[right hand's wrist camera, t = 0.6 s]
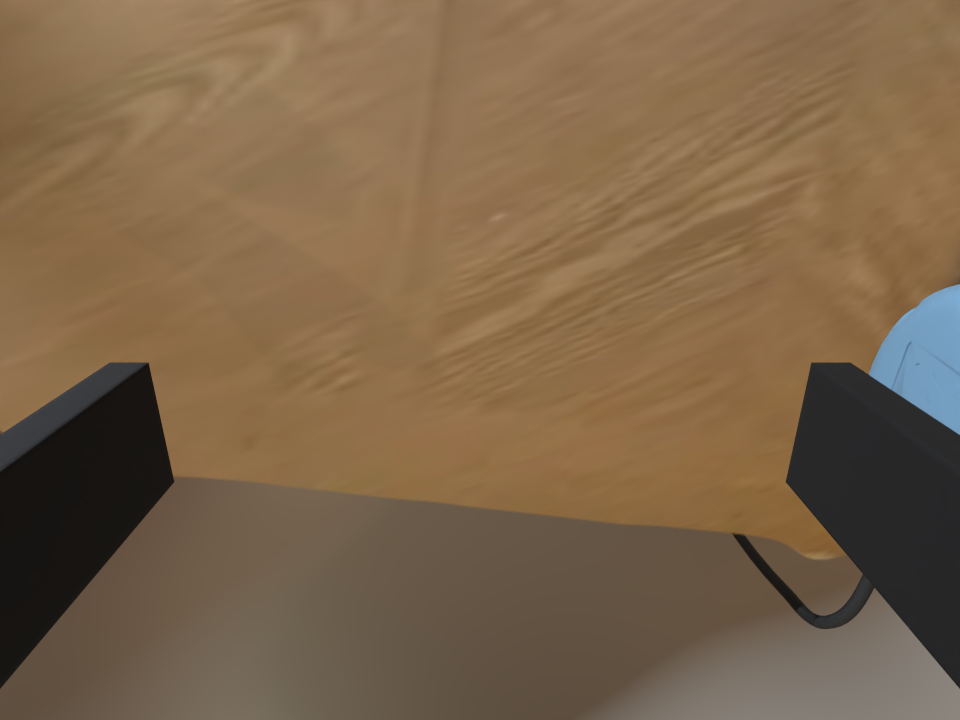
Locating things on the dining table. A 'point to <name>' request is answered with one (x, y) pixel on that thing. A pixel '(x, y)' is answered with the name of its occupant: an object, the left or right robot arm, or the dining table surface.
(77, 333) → the dining table surface
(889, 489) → the right robot arm
